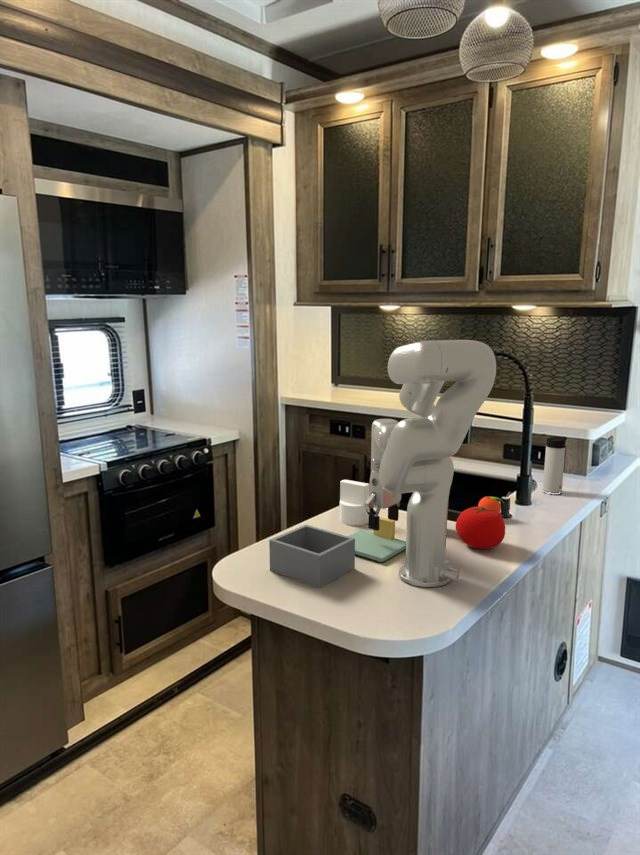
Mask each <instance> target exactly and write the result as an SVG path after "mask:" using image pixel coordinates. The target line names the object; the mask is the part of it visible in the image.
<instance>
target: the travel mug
mask: <svg viewBox="0 0 640 855" xmlns="http://www.w3.org/2000/svg"><path fill="white" fill-rule="evenodd" d="M566 440H568V438H567V437H566V436H551V437H548V438H546V444H545V455H544V468H543V469H544V471H543V481H542V483H543V484H542V491H543V490H544V491H546V492H551V493H559V492H562V493H563V480H564V467H565V455H566V454H565V452H566Z"/></svg>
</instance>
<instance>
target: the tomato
mask: <svg viewBox="0 0 640 855" xmlns="http://www.w3.org/2000/svg"><path fill="white" fill-rule="evenodd" d="M455 532H456V535H457V536H458V538H459V539H460V540H461V541H462V543H464V544H465V545H467V546H469V547H471V548H474V549H479V550H488V549H494V548H495V547H498V546H499V545H500V544H501V543H502V542H503V540H504V538H505V536H506V523H505V521H504V517H503V516H502V515H501V514H500V513H498V512H497V511H496V510H493V509H490V508H485V507H483V506H482V507H478V506H471V507H469V508H466V509H465V510H463V511H462V512H460V514H459V515H458V517H457V518H456V523H455Z"/></svg>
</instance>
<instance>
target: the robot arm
mask: <svg viewBox="0 0 640 855" xmlns="http://www.w3.org/2000/svg"><path fill="white" fill-rule="evenodd" d="M496 360H497V359H496V357H495V353H494V351H493V350H492V348H491V347H490V346H489V345H488V344H486V343H484V342H482V341H478V340H471V339H447V340H446V339H443V340H442V339H441V340H439V339H438V340H436V339H435V340H420V341H414V342H412V343H409V344H405V345H400V346H398V347H397V348H395V349H394V350H393V351H392V353H391V354H390V356H389V358H388V361H387V362H388V363H387V374H388V377H389V379H390V380H391V381H392V382H393V383H394V384H398V385H402V387H401V389H400V391H399V393H398V394H399V395H398V396H399V402H400V404H401V405H402V406H403V407H404V408H405V409H406V410H407V411H409V412H411V413H413V414H415V415H417V416H419V417H412V418H405V419H402V420H400V421H398V420H396V419H392V418H379V419H374V421H373V422H372V424H371V439H370V440H371V443H370V444H371V445H370V446H371V447H370V449H371V451H370V477H369V483H368V484H369V498H368V499H367V501H366V502H365V507H366V512H367V514H368V515H369V521H368V523H367V525H368V529H370V530H373V531H374V530H376V531H378V530H379V520H380V516H379V514H380V511H381V509H382V510H386V509H387V519H389V520H393V521H395V522H398V521H399V516H400V514H399V513H400V512H399V507H400V506H401V503H400V502H401V500H402V495H403V494H406V493H407V494H408V493H412V494H411V496H410V497H409V500H408V503H407V508H406V536H405V537H406V538H405V539H406V540H405V541H406V549H405V564H402V565H401V566H400V567H399V568H398V576H399V578H400V580H402V581H404V582H405V583H407V584H409V585H413V586H416V587H421V588H436V587H437V588H438V587H441V586H445V585H447V584H448V583H450V582H451V581H455V582H459V580H460V570H459V569H457V568H453V567H451V566H450V560H449V559H446V557H447V556H446V554H447V531H448V512H449V511H448V510H449V499H450V498H449V496H450V490H451V486H452V483H453V480H454V479H453V477H454V475H455V474H454V471H455V470H454V469H455V467H454V462H453V459H452V456H455V455H456V454H457V453H458V452H459V450H460V448H461V446H462V444H463V442H464V440H465V438H466V436H467V433H468V432H469V429H470V428H471V426H472V423H473V420H474V418H475V417H476V415H477V413H478V412H479V410H480V408H481V407H482V406H483V404H484V403H485V401H486V399H487V398H488V396H489V395H490V394H491V391H492V389H493V386H494V384H495V381H496V380H495V379H496V376H497V362H496ZM451 381H452V382H454V381H455V383H454V384H452V386H450V387H448V388H447V389H446V390H445V391H444V392H443V393H442V394H441V395H440V396H439V394H440V391H441V390H442V388H443V385H444V384H445V382H451ZM438 396H439V398H438ZM437 398H438V400H437ZM436 400H437V401H436ZM435 402H436V404H435ZM374 508H375V509H374Z"/></svg>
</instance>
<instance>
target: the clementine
mask: <svg viewBox="0 0 640 855" xmlns="http://www.w3.org/2000/svg"><path fill="white" fill-rule="evenodd" d="M500 501H501V502H502V503H503V504H505V502H504V501H503V500H502V499H501V498H499V497H496V496H491V495H488V496H487V495H486V496H483V497H482V498H481V499H480V500H479V501H478V505H477V507H482V506H483V507H485V508H490V509H493V510H496V511H497V512H498V513H499V514H500V513H501V511H502V505H501V502H500Z"/></svg>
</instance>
